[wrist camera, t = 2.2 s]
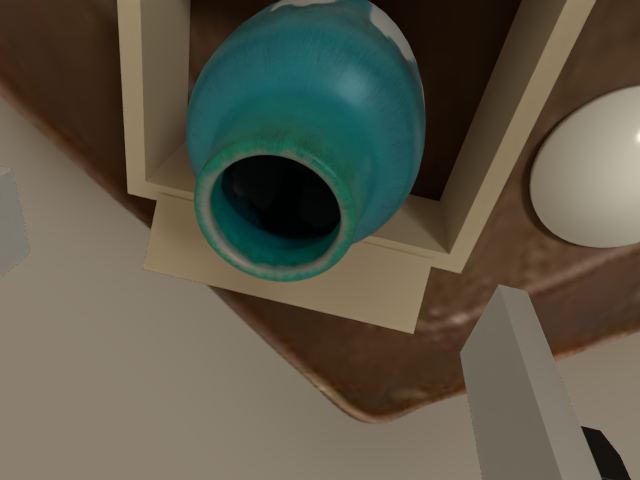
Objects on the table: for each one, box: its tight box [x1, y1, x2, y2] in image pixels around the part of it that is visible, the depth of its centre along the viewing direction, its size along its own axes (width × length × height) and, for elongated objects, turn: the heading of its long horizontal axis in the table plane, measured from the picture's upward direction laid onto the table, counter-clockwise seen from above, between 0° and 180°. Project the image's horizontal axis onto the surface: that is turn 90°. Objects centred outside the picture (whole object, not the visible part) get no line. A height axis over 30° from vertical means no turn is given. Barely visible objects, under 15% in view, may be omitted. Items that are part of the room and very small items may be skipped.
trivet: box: [529, 84, 640, 248], centre depth 31 cm, size 12×12×1 cm
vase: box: [185, 0, 426, 282], centre depth 22 cm, size 11×11×19 cm
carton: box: [117, 0, 596, 334], centre depth 26 cm, size 25×22×10 cm
